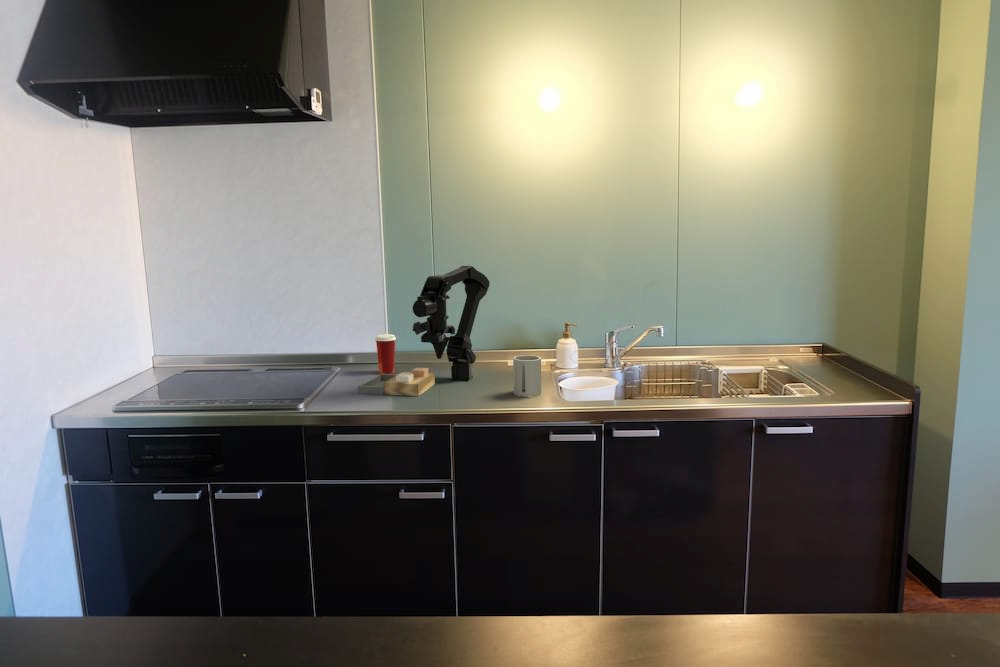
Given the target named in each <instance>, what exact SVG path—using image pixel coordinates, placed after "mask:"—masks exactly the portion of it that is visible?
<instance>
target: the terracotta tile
mask: <svg viewBox="0 0 1000 667" xmlns="http://www.w3.org/2000/svg"><path fill="white" fill-rule="evenodd" d="M410 372H411V373H412V374H414V376H419V377H424V376H426V375H427V374H428V373H429V367H415V368H413V369H411V371H410Z"/></svg>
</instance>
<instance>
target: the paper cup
mask: <svg viewBox="0 0 1000 667" xmlns="http://www.w3.org/2000/svg"><path fill="white" fill-rule="evenodd" d="M396 339H397V338H396V336H395V335H394V334H390V333H386V334H384V333H383V334H378V335H376V337H375V343H376V350H377V351H376V353H377V362H378V363H377V364H378V372H379V374H391V375H392V374H393V373H395V366H396V365H395V360H396Z"/></svg>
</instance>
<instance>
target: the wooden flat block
mask: <svg viewBox="0 0 1000 667" xmlns="http://www.w3.org/2000/svg"><path fill="white" fill-rule="evenodd" d="M400 373H409V374H412V373H411V371H401V372H399V373H398V374H395V375H396V376H397V375H399V374H400ZM396 376H394V377H392V378H390V379H389V380H387V381H385V382H384V395H393V396H394V395H395V396H396V395H397V396H411V397H413V396H414V397H420V396H421V395H422V394H423V393H425V392H426V391H427V390H429V389H431V388H432V387H433V386H434V385H435V379H436V378H435V376H436V375H435V372H428V374H427V375H426V376H424V377H419V376H414V380H412V381H411V382H409V383H405V382H396Z"/></svg>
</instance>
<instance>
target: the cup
mask: <svg viewBox="0 0 1000 667" xmlns="http://www.w3.org/2000/svg"><path fill="white" fill-rule="evenodd" d="M512 364H513V366H512V370H513V373H512V374H513V375H512V376H513V377H512V378H513V379H512V380H513V382H512V385H513V386H512V387H513V388H512V389H513V390H512V393H514V394H515V395H514V394H513V395H514V396H516V395H518V396H517V397H520V396H526V397H525V398H528V397H527V396H535V397H538V396H537V395H539V396H540V394H542V357H541V356H538V355H531V354H530V355H529V354H526V355H525V354H524V355H516V356H513V359H512ZM522 390H525V391H522Z"/></svg>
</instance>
